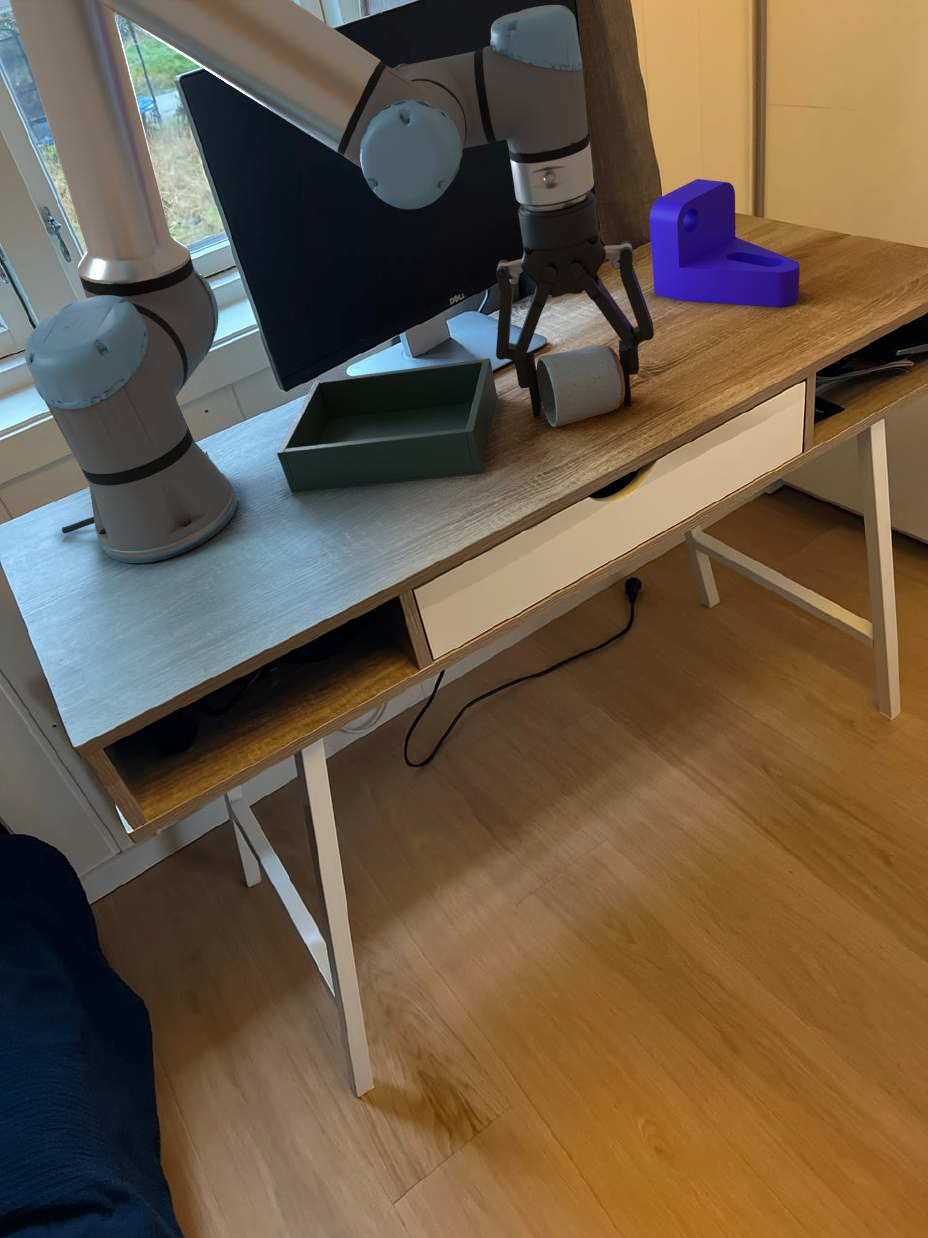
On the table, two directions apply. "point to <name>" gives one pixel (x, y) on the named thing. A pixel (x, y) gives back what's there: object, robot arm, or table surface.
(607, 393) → the ceramic mug
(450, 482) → the table surface
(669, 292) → the bracket
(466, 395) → the tote
